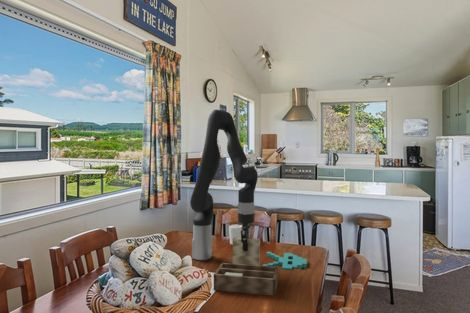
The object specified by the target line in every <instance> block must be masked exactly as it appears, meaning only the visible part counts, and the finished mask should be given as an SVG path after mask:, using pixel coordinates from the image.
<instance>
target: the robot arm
mask: <svg viewBox="0 0 470 313" xmlns="http://www.w3.org/2000/svg"><path fill="white" fill-rule="evenodd" d="M220 130H221V131H223V132H224V134H225V135H226V138H227V145H226V150H227V154H228V157H229V159H230V161H231V163H232V164H231V165H232V169H233V177H234V179H235V181H236V182H237V183H238V184H245V185H244V186H243V187H241V188H240V189H239V190H238V200H237V222H238V223H239V224H241V226H242V227H241V242H242V243H243V251H248V238H251V236H252V235H251V234H252V224H253V223H255V220H256V219H255V218H256V216H255V215H256V214H255V212H256V211H255V210H256V209H255V208H256V207H255V191H256V186H257V183H258V179H259V177H258V176H259V175H258V171H257V169H256V168H255V167H253V166H247V167H244V165H246V163H247V162H248V158H247V155H246V153H245V151H244V149H243V146H242V144H241V142H240V139H239V136H238V131H237V128H236V125H235V121H234V118H233V116H232V114H231V113H230V112H228V111H225V110H220V109H212V110H211V111H210V114H209V116H208V118H207V126H206V133H205V134H206V135H205V139H204V140H205V141H204V145H203V150H202V155H201V158H200V162H199V167H198V172H197V176H196V181H195V185H194V188H193V191H192V194H191V197H190V201H189V202H190V203H189V204H190V208H191V210H192V211H193V212H195V213H196V214H195V215H194V217H193V219H192V221H193V222H192V223H193V224H192V232H193V234H192V240H191V258H192V259H194V260H197V261H207V260H210V259H212V253H213V252H212V220H213V215H214V198H213V196H212V194H211V193H210V192H209V189H210V186H211V184H212V182H213V180H214V178H215V177H216V174H217V172H218V170H219V166H220V161H221V152H220V151H221V150H220V148H219V144H218V136H219V135H218V134H219V131H220ZM244 238H245V239H246V240H244Z"/></svg>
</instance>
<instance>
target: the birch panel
mask: <svg viewBox="0 0 470 313" xmlns="http://www.w3.org/2000/svg"><path fill="white" fill-rule="evenodd" d="M244 240H246V239H245V238H244ZM232 264H245V265H259V266H261V238H253V237H252V238H251V237H250V238H248V251H243V243H242V242H241V238H237V237H234V238H233V245H232Z"/></svg>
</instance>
